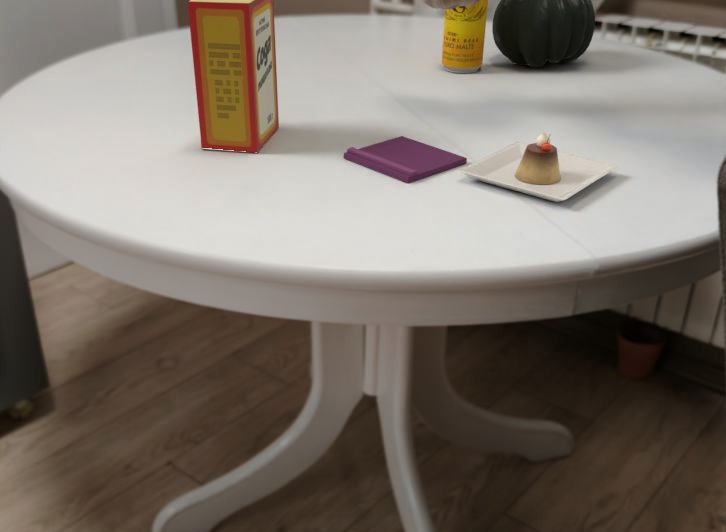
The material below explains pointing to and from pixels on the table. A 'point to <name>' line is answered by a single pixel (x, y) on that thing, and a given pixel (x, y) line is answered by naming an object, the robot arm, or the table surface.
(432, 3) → the garlic bulb
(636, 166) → the table surface
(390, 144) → the purple flat slab
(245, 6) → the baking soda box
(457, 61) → the beer can
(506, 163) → the dessert
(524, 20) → the squash
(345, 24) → the table surface
